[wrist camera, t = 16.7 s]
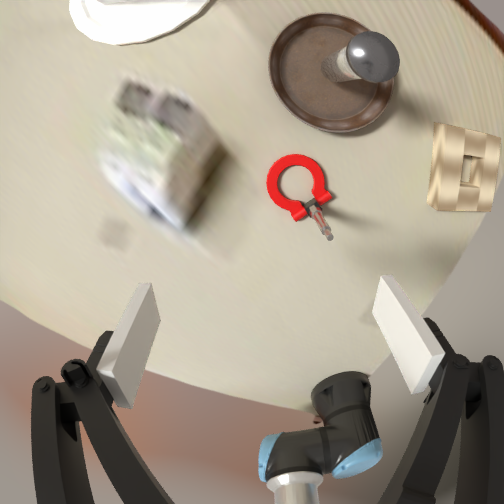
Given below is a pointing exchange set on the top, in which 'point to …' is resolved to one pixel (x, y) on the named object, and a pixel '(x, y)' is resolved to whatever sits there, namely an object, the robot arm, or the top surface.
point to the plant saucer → (315, 83)
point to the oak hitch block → (450, 168)
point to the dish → (131, 18)
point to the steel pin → (363, 60)
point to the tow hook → (294, 205)
